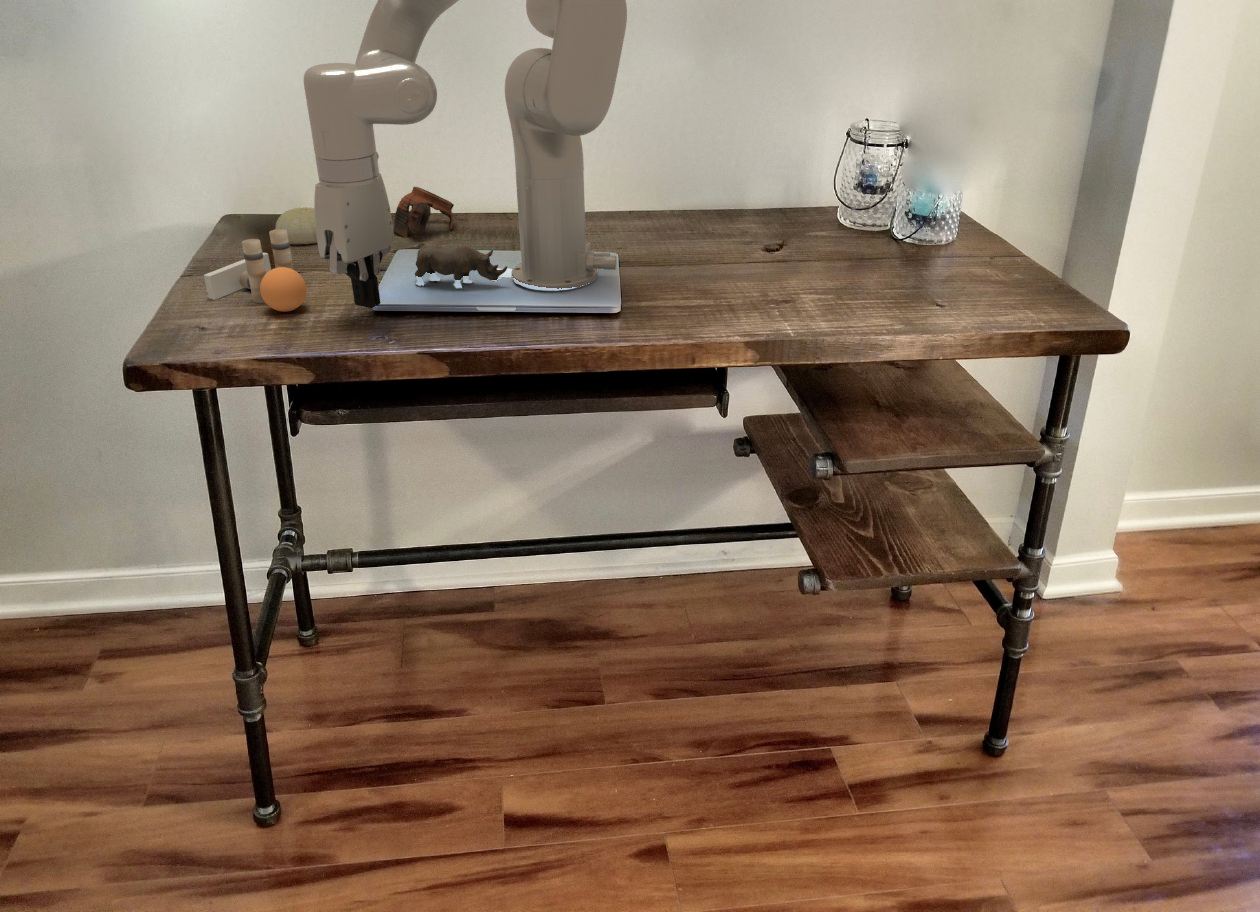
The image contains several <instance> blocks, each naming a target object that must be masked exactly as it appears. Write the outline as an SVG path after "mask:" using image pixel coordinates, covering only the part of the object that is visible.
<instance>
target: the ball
mask: <svg viewBox="0 0 1260 912" xmlns="http://www.w3.org/2000/svg"><path fill="white" fill-rule="evenodd" d="M307 290H308V289H307V285H306V282H305V280H304V278H303V277H302V275H301V274H300V273H298V272H297V271H296V270H295V269H294V270H293V269H290V268H286V267H278V268H276V267H275V268H271V270H270V271H269V272H267V273H266V274H265V276H264V277H263V279H262V281H261V284H260V292H261V296H262V298H263V300H264V301H265V303H264V304H266V305H267V306H268V307H270V308H271V309H273V310H275V311H278V312H282V313H284V312H291V311H295V310H297V308H299V307H301V305H302V304H303V303H304V301H305V299H306V297H307Z"/></svg>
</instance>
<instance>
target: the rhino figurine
mask: <svg viewBox="0 0 1260 912" xmlns="http://www.w3.org/2000/svg"><path fill="white" fill-rule="evenodd" d="M493 252H494V249H491V250H490V251H488V252H487V253H485V254H484V253H483V252H480V251H479V250H477V249H475V248H473V247H470V246H466V245H462V246H457V247H453V248H451V247H447V246H446V247H445V246H441V245H436V244H424V245H422V246H421V247H420V248H419V249H418V251H417V254H416V255H417V256H416V262H415V266H416V268H417V270H415V273H414V275H415V277H416V276H418V277H422V276H423V277H424V276H425V275H426V274H427V273H430V274H432V273H436V274H437V273H438V274H440V275H442V276H450V275H453V279H455V280H461V281H462V280H463V276H469V277H470V273H471V272H472V271H473V272H475V271H477V273H478V275H479V276H481V277H483V278H485V279H486V280H489V281H491V280H497V279H498V280H499V277H500V276H502V275H503V274H505V273H506V271H507V270H508V266H507V265H506V266H504V268H502V269H498V267H499V264H496V265H493V264H492V263H491V261H490V260H491V259H490V257H492V256H493V254H494V253H493ZM426 272H427V273H426ZM423 277H422V278H423ZM498 280H497V281H498Z"/></svg>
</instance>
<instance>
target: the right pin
mask: <svg viewBox="0 0 1260 912" xmlns="http://www.w3.org/2000/svg"><path fill="white" fill-rule="evenodd" d="M268 234H269V238H270V246H271V250H272V253H273V260H274V266H275V268H278V267H286V268H290V269H293V270H295V269H294V263H293V257H292V251H291V244H290V243H289V239H288V234H287V230H285V229H272V230H270V231H269V233H268Z"/></svg>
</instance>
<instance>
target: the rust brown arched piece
mask: <svg viewBox="0 0 1260 912" xmlns="http://www.w3.org/2000/svg"><path fill="white" fill-rule="evenodd" d="M454 206H455V204H453V202H451V201H450V200H448V199H446V198H443V197H441V196H440V195H437V194H435V193H432V192H430V191H428V190H426V189H424V188H421V187H418V186H413V187H412V190H411V191H410V192H409V193H407V194H405V195H404V196H403V197H401V200H400V201H399V202H398V205H397V207H396V211H395V214H394V219H393V220H394V221H393V232H394V233H396V234H398V235H399V236H401V237H403V238H409V231H410V232H411V233H412V234H413V235H422V234H425V230H426V225H427V222H428V221H429V219H430V217H431V214H432V213H431V209H433V210H436V211H439V212H440V213H441V214H442V215H444V216H446V217H448V219H449V224H448V230H450V231H451V230H453V225H454V214H453V211H452V210H453V208H454ZM410 207H411V208H410Z"/></svg>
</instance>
